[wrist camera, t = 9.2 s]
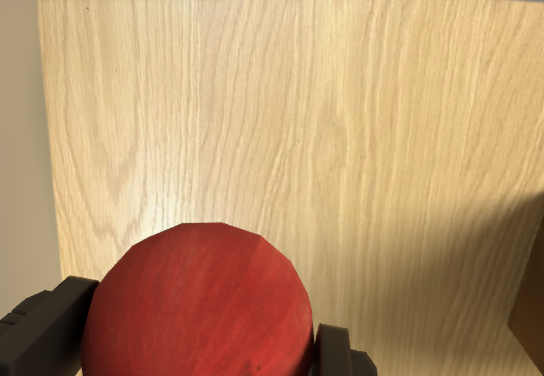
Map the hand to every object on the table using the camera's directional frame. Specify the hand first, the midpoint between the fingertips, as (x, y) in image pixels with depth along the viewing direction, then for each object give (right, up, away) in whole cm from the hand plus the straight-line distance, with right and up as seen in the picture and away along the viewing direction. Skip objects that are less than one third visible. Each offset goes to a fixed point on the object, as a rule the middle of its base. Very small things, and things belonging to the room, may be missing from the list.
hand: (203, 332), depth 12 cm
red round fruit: (0, +1, +4) cm, 4 cm away
